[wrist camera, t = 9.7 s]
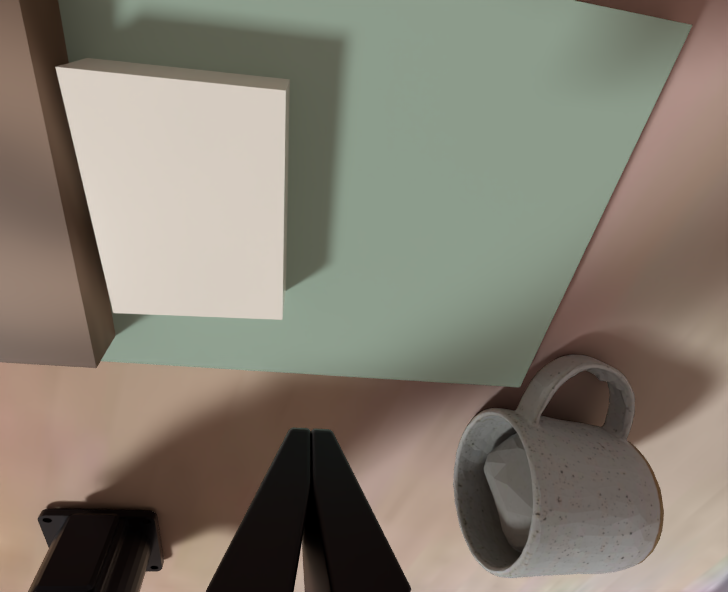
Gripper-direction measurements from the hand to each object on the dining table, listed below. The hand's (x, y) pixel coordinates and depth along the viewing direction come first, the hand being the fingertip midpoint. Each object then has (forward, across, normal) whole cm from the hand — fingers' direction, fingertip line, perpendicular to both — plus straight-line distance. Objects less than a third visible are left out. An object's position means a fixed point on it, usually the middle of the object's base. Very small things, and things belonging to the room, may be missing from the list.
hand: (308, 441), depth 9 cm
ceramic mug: (+11, -14, +11) cm, 21 cm away
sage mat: (+11, -1, -1) cm, 11 cm away
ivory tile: (+10, +4, -1) cm, 11 cm away
